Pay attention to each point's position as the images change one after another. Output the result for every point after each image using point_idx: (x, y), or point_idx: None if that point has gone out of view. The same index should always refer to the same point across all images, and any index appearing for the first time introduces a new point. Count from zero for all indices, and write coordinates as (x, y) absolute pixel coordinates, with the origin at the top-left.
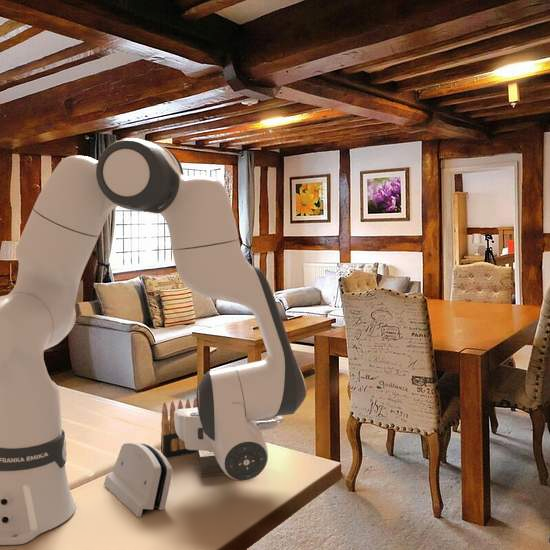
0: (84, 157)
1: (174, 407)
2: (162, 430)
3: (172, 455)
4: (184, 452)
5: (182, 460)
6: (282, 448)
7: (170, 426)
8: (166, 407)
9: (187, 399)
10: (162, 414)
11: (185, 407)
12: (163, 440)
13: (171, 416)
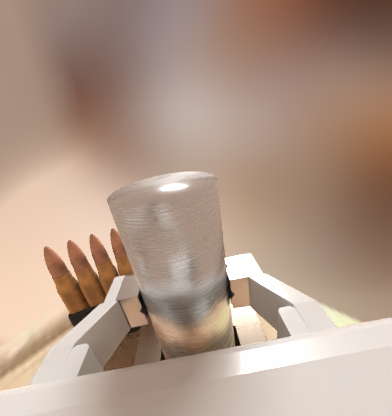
0: None
1: (78, 254)
2: (65, 304)
3: None
4: (132, 329)
5: (118, 366)
6: (343, 317)
7: (83, 293)
8: (53, 258)
9: (111, 230)
10: (50, 273)
11: (112, 247)
12: (72, 323)
13: (76, 274)
